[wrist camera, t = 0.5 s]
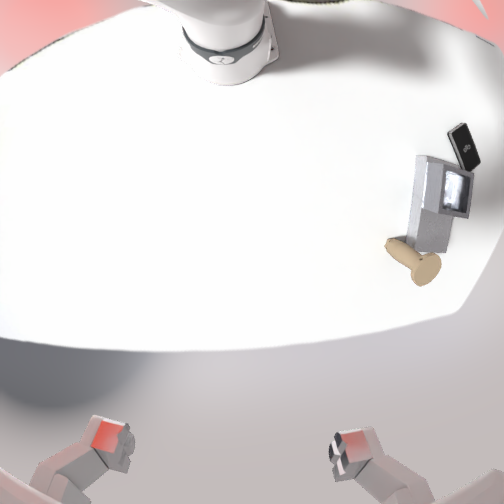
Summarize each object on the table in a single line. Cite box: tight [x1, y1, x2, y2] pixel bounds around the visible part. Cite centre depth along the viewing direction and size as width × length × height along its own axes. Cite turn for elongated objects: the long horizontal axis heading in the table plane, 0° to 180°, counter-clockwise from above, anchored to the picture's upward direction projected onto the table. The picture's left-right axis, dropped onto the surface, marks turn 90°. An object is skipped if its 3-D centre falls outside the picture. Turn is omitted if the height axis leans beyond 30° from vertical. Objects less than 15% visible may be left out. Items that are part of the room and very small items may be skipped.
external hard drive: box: [447, 123, 481, 172], centre depth 47 cm, size 7×11×2 cm, turn 35°
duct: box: [405, 156, 474, 253], centre depth 47 cm, size 20×10×10 cm, turn 177°
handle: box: [385, 238, 441, 286], centre depth 48 cm, size 5×6×15 cm
